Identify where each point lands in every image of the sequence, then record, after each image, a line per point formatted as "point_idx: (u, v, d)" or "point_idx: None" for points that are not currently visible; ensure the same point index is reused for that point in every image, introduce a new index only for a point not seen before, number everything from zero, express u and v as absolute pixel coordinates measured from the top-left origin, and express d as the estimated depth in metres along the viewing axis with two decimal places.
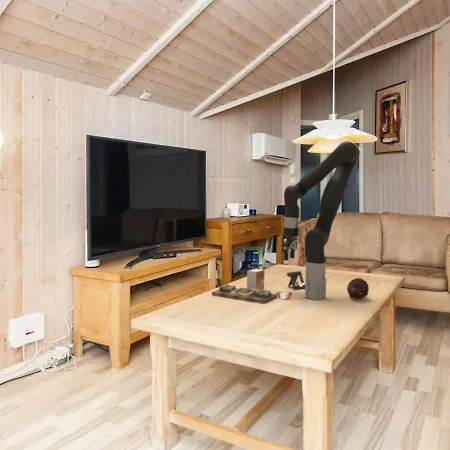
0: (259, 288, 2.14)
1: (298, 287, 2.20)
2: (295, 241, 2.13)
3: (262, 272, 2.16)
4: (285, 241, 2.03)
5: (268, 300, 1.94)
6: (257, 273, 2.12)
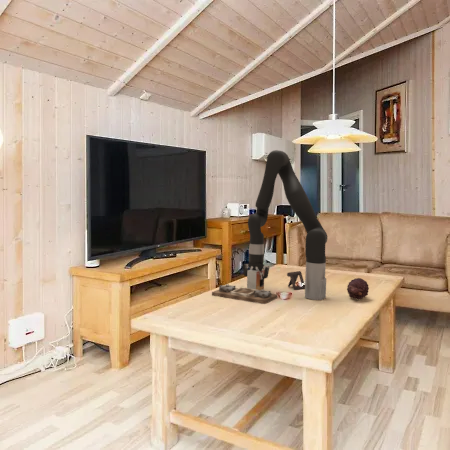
0: (259, 288, 2.14)
1: (298, 287, 2.20)
2: None
3: None
4: (268, 268, 2.12)
5: (268, 300, 1.94)
6: (257, 273, 2.12)
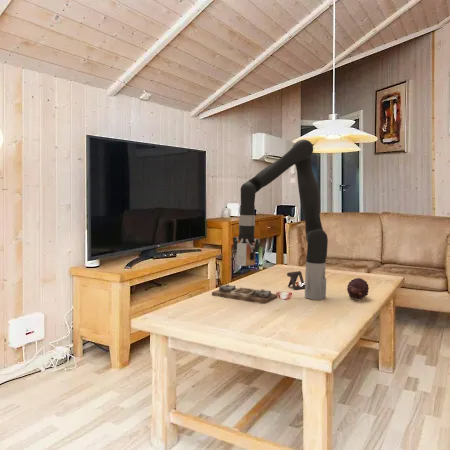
0: (249, 262, 2.02)
1: (298, 287, 2.20)
2: None
3: None
4: (259, 241, 2.00)
5: (268, 300, 1.94)
6: (247, 246, 2.00)
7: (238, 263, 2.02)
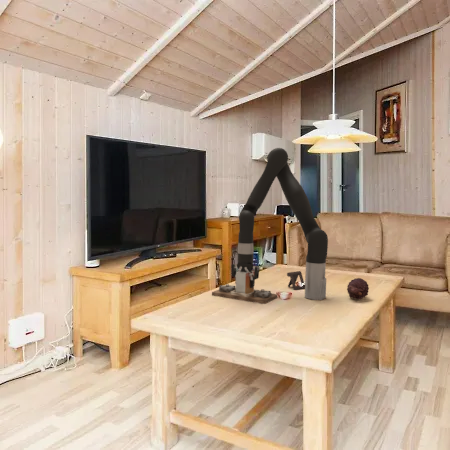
0: (249, 291, 2.02)
1: (298, 287, 2.20)
2: (235, 267, 2.06)
3: None
4: (258, 268, 2.00)
5: (268, 300, 1.94)
6: (246, 275, 1.99)
7: (237, 292, 2.02)
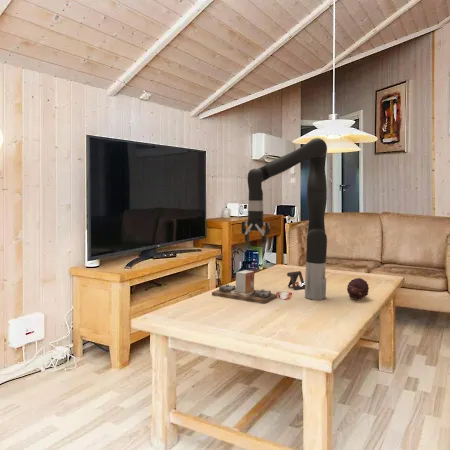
0: (249, 291, 2.02)
1: (298, 287, 2.20)
2: None
3: (252, 274, 2.03)
4: (268, 224, 2.06)
5: (268, 300, 1.94)
6: (246, 275, 1.99)
7: (237, 292, 2.02)
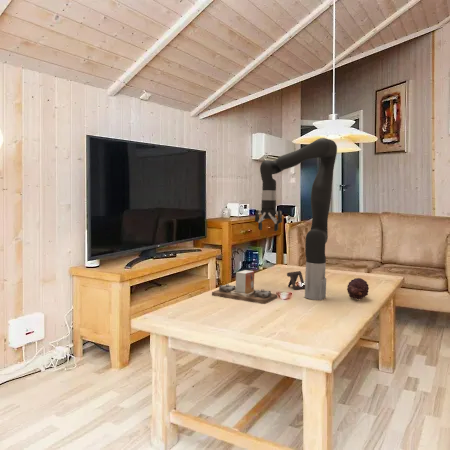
0: (249, 291, 2.02)
1: (298, 287, 2.20)
2: (259, 213, 2.24)
3: (252, 274, 2.03)
4: (280, 212, 2.17)
5: (268, 300, 1.94)
6: (246, 275, 1.99)
7: (237, 292, 2.02)
